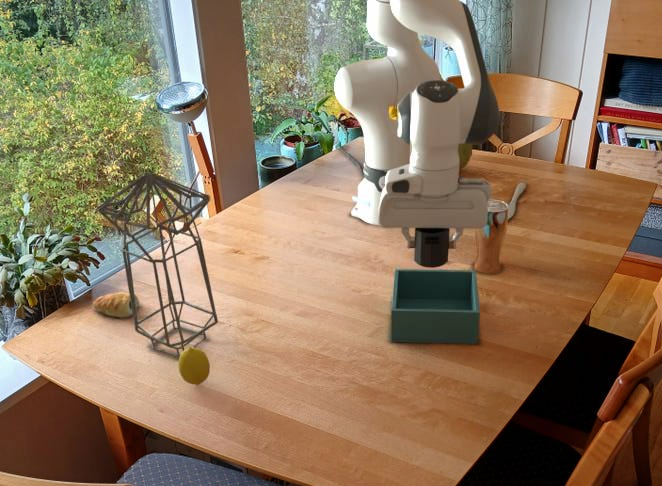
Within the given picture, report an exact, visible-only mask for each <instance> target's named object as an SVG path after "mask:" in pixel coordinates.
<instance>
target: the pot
mask: <svg viewBox="0 0 662 486" xmlns="http://www.w3.org/2000/svg"><path fill="white" fill-rule="evenodd" d="M450 229H451V228H414V237H415V248H414V254H413V256H414V258H413V261H414V262H415V264H417V265H418V266H420V267H423V268H430V269H431V268H432V269H435V268H439V267H440V268H441V267H442V266H445V265H446V264H447V263H448V262H449V250H450V249H449V237H450V231H451V230H450Z"/></svg>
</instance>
